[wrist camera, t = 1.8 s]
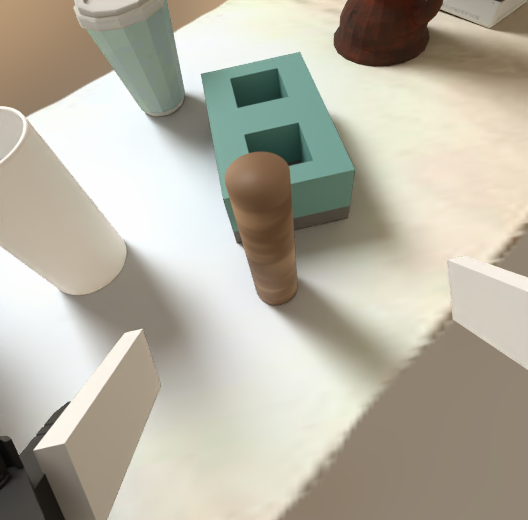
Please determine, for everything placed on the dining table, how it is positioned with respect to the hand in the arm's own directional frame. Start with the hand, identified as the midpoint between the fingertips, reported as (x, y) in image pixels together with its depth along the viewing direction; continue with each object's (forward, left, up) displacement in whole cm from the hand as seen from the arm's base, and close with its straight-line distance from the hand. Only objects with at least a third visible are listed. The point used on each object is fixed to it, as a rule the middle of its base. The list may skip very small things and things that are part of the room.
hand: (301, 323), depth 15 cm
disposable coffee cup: (-10, +43, -16) cm, 47 cm away
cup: (-19, +18, -16) cm, 31 cm away
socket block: (+3, +26, -16) cm, 31 cm away
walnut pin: (0, +10, -16) cm, 19 cm away
